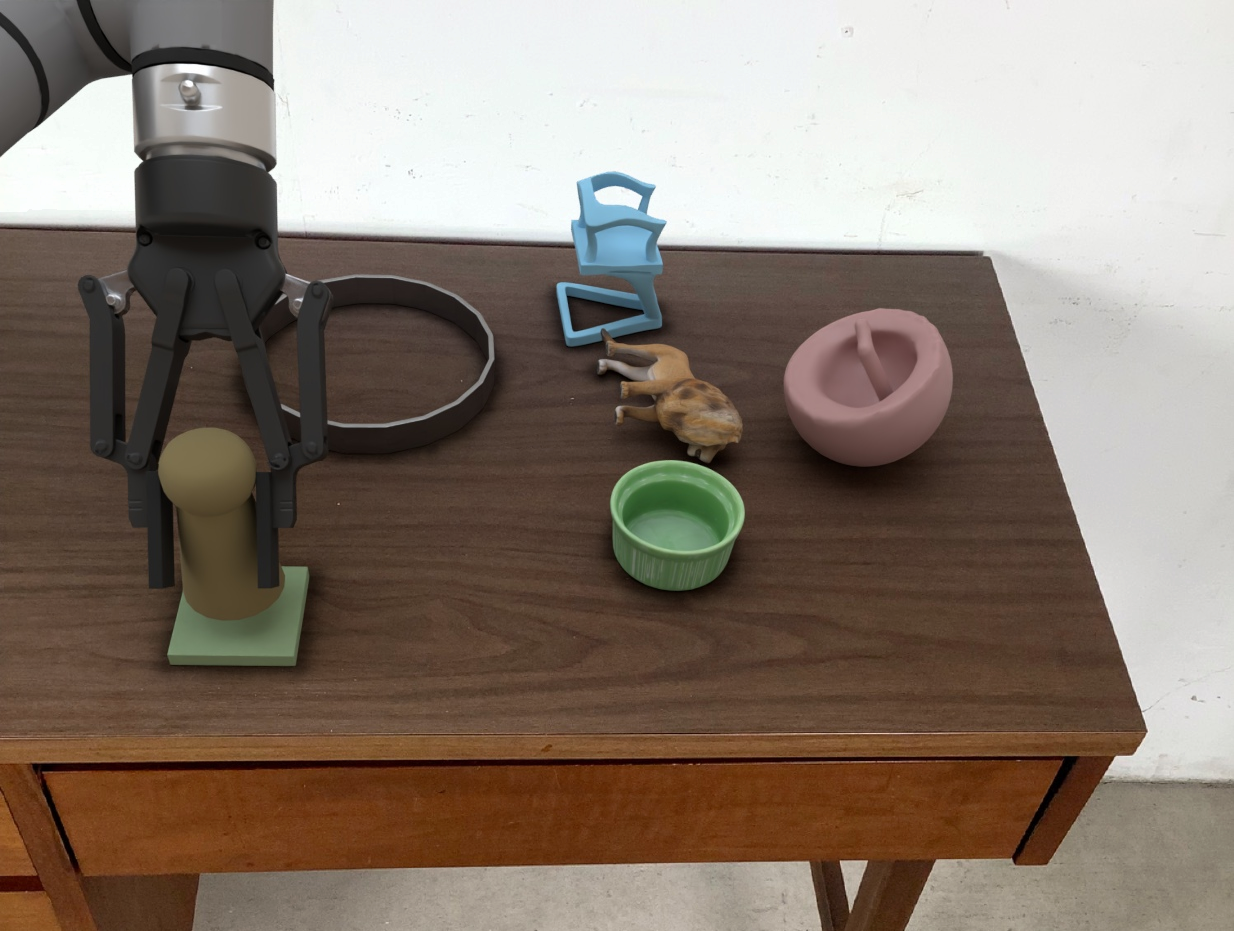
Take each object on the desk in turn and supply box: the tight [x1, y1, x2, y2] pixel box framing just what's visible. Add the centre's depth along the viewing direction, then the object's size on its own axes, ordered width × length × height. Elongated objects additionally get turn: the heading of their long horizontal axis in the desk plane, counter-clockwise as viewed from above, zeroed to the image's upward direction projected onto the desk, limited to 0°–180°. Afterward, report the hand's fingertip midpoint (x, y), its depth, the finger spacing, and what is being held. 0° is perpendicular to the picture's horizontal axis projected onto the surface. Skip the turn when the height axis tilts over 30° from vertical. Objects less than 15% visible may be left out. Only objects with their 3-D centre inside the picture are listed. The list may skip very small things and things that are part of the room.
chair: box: [556, 170, 668, 347], centre depth 97 cm, size 8×8×12 cm
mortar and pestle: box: [782, 307, 954, 468], centre depth 89 cm, size 12×12×12 cm
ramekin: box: [609, 459, 746, 592], centre depth 82 cm, size 9×9×4 cm
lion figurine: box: [596, 328, 744, 464], centre depth 92 cm, size 15×5×9 cm
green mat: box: [166, 565, 310, 667], centre depth 77 cm, size 8×8×1 cm
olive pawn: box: [157, 427, 285, 621], centre depth 70 cm, size 6×6×11 cm
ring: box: [240, 273, 495, 455], centre depth 93 cm, size 19×19×2 cm
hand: (215, 586), depth 69 cm, fingers closed on olive pawn, 5 cm apart
